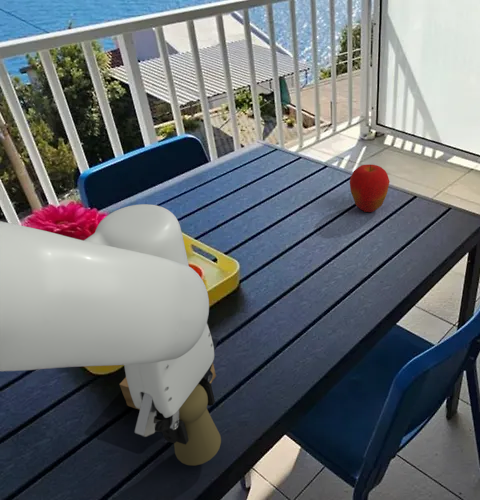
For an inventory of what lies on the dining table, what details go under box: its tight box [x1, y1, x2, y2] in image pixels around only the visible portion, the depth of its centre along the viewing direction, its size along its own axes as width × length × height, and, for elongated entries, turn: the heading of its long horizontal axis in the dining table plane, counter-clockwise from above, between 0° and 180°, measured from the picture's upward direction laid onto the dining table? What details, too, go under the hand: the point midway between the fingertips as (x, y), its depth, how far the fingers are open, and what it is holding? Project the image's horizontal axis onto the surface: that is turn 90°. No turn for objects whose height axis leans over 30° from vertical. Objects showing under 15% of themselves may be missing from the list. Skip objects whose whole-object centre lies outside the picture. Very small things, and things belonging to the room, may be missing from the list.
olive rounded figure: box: [173, 384, 222, 466], centre depth 64 cm, size 6×6×11 cm
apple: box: [349, 164, 391, 213], centre depth 118 cm, size 9×9×12 cm
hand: (190, 418), depth 63 cm, fingers closed on olive rounded figure, 5 cm apart
